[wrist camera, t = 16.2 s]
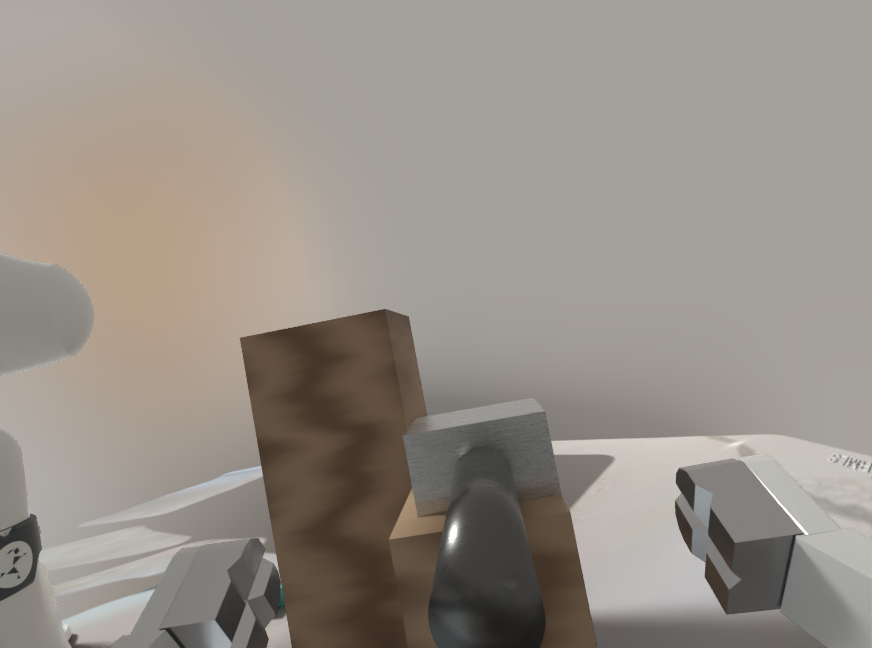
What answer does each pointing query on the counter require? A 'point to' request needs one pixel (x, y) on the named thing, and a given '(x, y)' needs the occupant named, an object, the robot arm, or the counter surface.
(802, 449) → the counter surface
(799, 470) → the counter surface
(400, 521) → the step stand
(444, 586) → the mallet
